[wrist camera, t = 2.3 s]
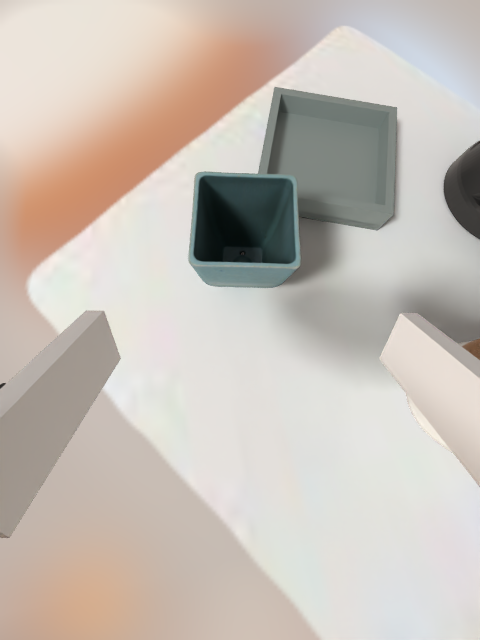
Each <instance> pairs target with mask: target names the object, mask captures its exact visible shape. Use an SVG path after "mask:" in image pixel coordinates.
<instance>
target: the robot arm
mask: <svg viewBox="0 0 480 640" xmlns="http://www.w3.org/2000/svg"><path fill="white" fill-rule="evenodd" d="M444 193H445V198H446V201H447V204H448V206H449V208H450V210H451V212H452V214H453V215H454V216H455V218H456V219H457V220H458V222H459V223H460V224H461V225H462V226H463V227H464V228H465V229H466V230H468V231H469V232H470V233H471V234H473V235H474V236H476V237H477V238H479V239H480V141H478V142H477V143H475V144H474V145H472V146H471V147H470V148H468V149H467V150H466V151H465V152H464V153H463V154H462V155H461V156H460V157H459V158H458V159H457V160H456V161H455V162H454V163H453V164H452V165H451V166H450V168H449V169H448V171H447V173H446V176H445V180H444ZM120 359H121V358H120V355H119V352H118V349H117V347H116V344H115V341H114V338H113V335H112V332H111V329H110V327H109V324H108V321H107V318H106V315H105V312H104V311H85V312H84V313H83V314H82V315H81V316H80V317H79V318H77V319H76V320H75V321H74V322H73V323H72V324H71V325H70V326H69V327H68V328H67V329H65V330H64V331H63V332H62V333H61V334H60V335H59V336H58V337H57V338H56V339H55V340H53V341H52V342H51V343H50V344H49V345H48V346H47V347H46V348H45V349H44V350H42V351H41V352H40V353H39V354H38V355H37V356H36V357H35V358H34V359H33V360H31V361H30V362H29V363H28V364H27V365H26V366H25V367H24V368H23V369H22V370H21V371H19V372H18V373H17V374H16V375H15V376H14V377H13V378H12V379H11V380H10V381H9V382H8V383H3V384H1V385H0V538H10V536H11V535H12V533H13V531H14V530H15V528H16V527H17V525H18V523H19V522H20V520H21V519H22V517H23V515H24V514H25V512H26V511H27V509H28V507H29V506H30V504H31V502H32V501H33V499H34V498H35V496H36V494H37V493H38V491H39V489H40V488H41V486H42V485H43V483H44V481H45V480H46V478H47V477H48V475H49V473H50V472H51V470H52V469H53V467H54V465H55V464H56V462H57V460H58V459H59V457H60V456H61V454H62V452H63V451H64V449H65V448H66V446H67V444H68V443H69V441H70V440H71V438H72V436H73V435H74V433H75V431H76V430H77V428H78V427H79V425H80V423H81V422H82V420H83V419H84V417H85V415H86V413H87V412H88V410H89V409H90V407H91V406H92V404H93V402H94V401H95V399H96V398H97V396H98V394H99V393H100V391H101V390H102V388H103V386H104V385H105V383H106V381H107V380H108V378H109V377H110V375H111V373H112V372H113V370H114V369H115V367H116V365H117V364H118V362H119V361H120ZM379 359H380V361H381V362H382V363H383V365H384V366H385V367H386V368H387V370H388V371H389V372H390V373H391V375H392V376H393V377H394V379H395V380H396V381H397V382H398V384H399V385H400V386H401V387H402V389H403V390H404V391H405V393H406V394H407V395H408V396H409V398H410V399H411V400H412V401H413V403H414V404H415V405H416V406H417V408H418V409H419V410H420V412H421V413H422V414H423V415H424V417H425V418H426V419H427V420H428V422H429V423H430V424H431V426H432V427H433V428H434V429H435V431H436V432H437V433H438V434H439V436H440V437H441V438H442V440H443V441H444V442H445V443H446V445H447V446H448V447H449V448H450V450H451V451H452V452H453V454H454V455H455V456H456V457H457V459H458V460H459V461H460V462H461V464H462V465H463V466H464V467H465V469H466V470H467V471H468V473H469V474H470V475H471V476H472V478H473V479H474V480H475V481H476V483H477V484H478V485H479V487H480V360H479V359H477V358H476V357H475V356H473V355H472V354H471V353H469V352H468V351H467V350H465V349H464V348H463V347H461V346H460V345H459V344H458V343H456V342H455V341H454V340H452V339H451V338H450V337H448V336H447V335H446V334H444V333H443V332H442V331H440V330H439V329H438V328H436V327H435V326H434V325H432V324H431V323H430V322H428V321H427V320H426V319H424V318H423V317H422V316H420V315H419V314H418V313H400V315H399V317H398V319H397V321H396V323H395V326H394V328H393V330H392V332H391V334H390V336H389V339H388V341H387V343H386V345H385V347H384V349H383V351H382V354H381V356H380V358H379Z"/></svg>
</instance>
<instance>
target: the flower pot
mask: <svg viewBox="0 0 480 640" xmlns="http://www.w3.org/2000/svg"><path fill="white" fill-rule="evenodd" d="M299 237H300V236H299V216H298V183H297V179H296V177H295V176H294V175H285V174H249V173H221V172H199V173H197V174H196V175H195V180H194V197H193V212H192V223H191V234H190V245H189V263H190V264H191V266H192V267H193V268H194V270H195V271H196V272H197V274H198V275H199V276H200V278H201V279H202V280H203V281H204V282H205V283H206V284H208V285H211V286H218V287H257V288H272V287H277V286H279V285H281V284H282V283H283V282H284V281H285V280H287V279H288V278H289V277H290V276H291V275H292V274H293V273H294V272H295V271H296V270H297V269H298V268H299V267H300V265H301V253H300V238H299ZM241 252H244V253H245V255H241Z"/></svg>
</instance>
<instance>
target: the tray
mask: <svg viewBox="0 0 480 640" xmlns="http://www.w3.org/2000/svg"><path fill="white" fill-rule="evenodd" d="M396 128H397V107H391V106H385V105H379V104H373V103H367V102H362V101H356V100H350V99H344V98H338V97H332V96H326V95H320V94H314V93H308V92H302V91H296V90H290V89H284V88H278V87H275V88H274V93H273V98H272V103H271V109H270V114H269V119H268V124H267V129H266V135H265V140H264V145H263V150H262V156H261V161H260V166H259V171H258V174H285V175H294V176H295V177H296V179H297V183H298V216H299V217H304V218H310V219H315V220H321V221H327V222H333V223H338V224H344V225H350V226H356V227H362V228H367V229H373V230H378V229H379V228H380V227H381V226H382V225H383V224H384V223H385V222H386V221H387V220H388V219H389V218H390V217H392V216H393V215H394V190H395V159H396Z"/></svg>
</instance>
